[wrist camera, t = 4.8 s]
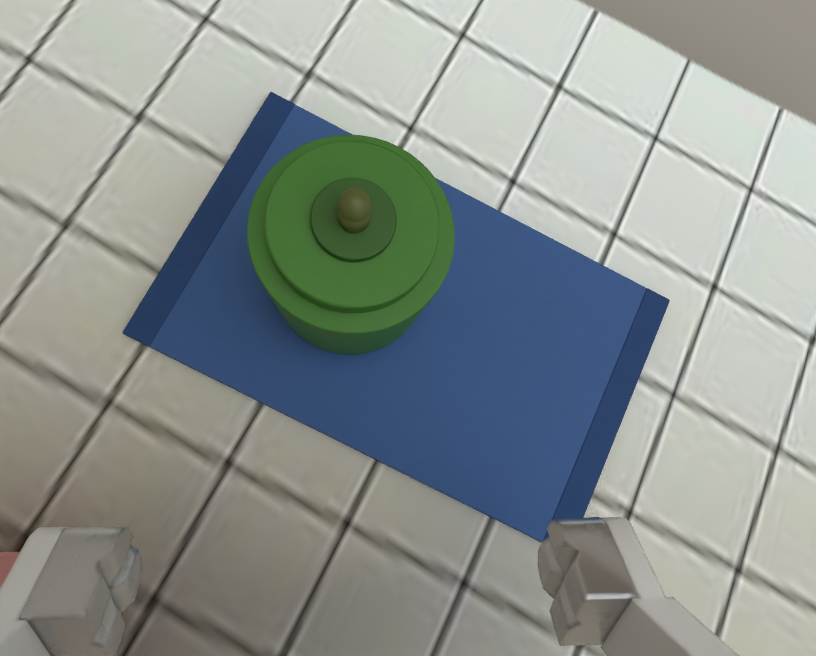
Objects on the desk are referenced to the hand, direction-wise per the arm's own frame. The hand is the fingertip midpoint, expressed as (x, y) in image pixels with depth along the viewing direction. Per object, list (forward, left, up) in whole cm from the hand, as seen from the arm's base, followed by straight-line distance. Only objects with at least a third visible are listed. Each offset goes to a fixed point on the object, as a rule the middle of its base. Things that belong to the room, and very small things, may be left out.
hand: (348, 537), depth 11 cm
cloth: (0, +7, -11) cm, 13 cm away
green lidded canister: (-3, +7, -11) cm, 13 cm away
